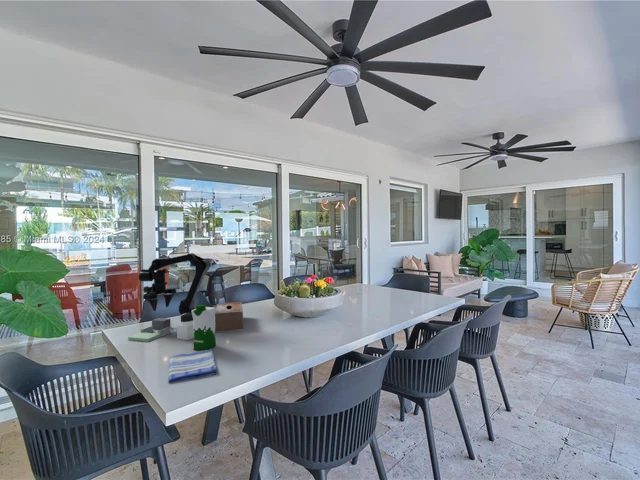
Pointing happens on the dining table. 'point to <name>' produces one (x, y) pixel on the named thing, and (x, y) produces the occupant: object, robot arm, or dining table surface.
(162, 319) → the gray cuboid pillar
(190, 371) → the dish towel
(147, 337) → the deck
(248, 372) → the dining table surface
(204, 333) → the milk carton
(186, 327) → the medicine bottle
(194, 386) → the dining table surface
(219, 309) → the tissue box cover
